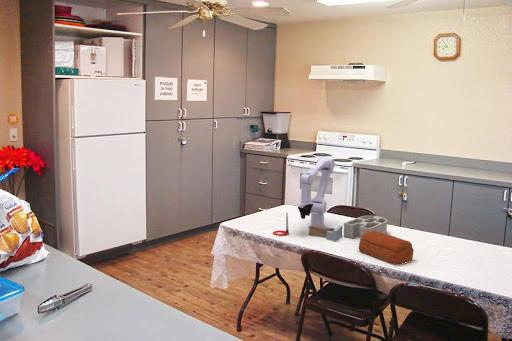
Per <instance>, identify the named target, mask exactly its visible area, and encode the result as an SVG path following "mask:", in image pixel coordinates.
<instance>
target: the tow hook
mask: <svg viewBox="0 0 512 341" xmlns="http://www.w3.org/2000/svg"><path fill="white" fill-rule="evenodd" d="M272 234H273V235H274V236H277V235H278V237H279V236H289V234H290V231H289V215H288V212H286V213H285V230H283V229H282V230H281V229H280V230H274V231H273V232H272Z"/></svg>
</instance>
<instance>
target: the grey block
mask: <svg viewBox="0 0 512 341" xmlns="http://www.w3.org/2000/svg"><path fill="white" fill-rule="evenodd" d="M333 228H334V230H333V232H332V231H327V237H326V240H329V241H332V242H337V241H338V240H340V238H341V237H342V236H343V228H344V225H338V226H337V227H333Z"/></svg>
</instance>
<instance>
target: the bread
mask: <svg viewBox="0 0 512 341" xmlns="http://www.w3.org/2000/svg"><path fill="white" fill-rule="evenodd" d="M358 250H359V252H361V254H365V255H369V256H371V257H374V258H376V257H377V259H379V258H380V259H379V260H382V261H384V260H385V262H387V261H388V262H387V263H389V262H391V263H390V264H392V263H395V264H394V265H396V264H402V263H405V262H409V261H412V262H413V257H414V248H413V245H412V243H411V241H408V240H405V239H403V238H400V237H397V236H394V235H390V234H387V233H386V234H384V233H381V232H378V231H371V232H368V233H365V234H363V235H362V238H361V240H360V239H359V244H358ZM409 263H410V262H409ZM405 264H406V263H405ZM402 265H403V264H402Z"/></svg>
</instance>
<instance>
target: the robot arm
mask: <svg viewBox="0 0 512 341" xmlns="http://www.w3.org/2000/svg"><path fill="white" fill-rule="evenodd" d="M335 164H336V162H335V159H334V158H328V157H321V156H319V157H318V158H317V159H316V164H314V166H313V167H310V168H309V169H308V170H307V171H306V172H305V173H303V174H301V175H300V177H299V182H300V187H301V189H300V190H301V192H300V194H301V195H300V196H301V197H300V203H299V205H298V206H297V209H298V211H299V214H300V219H303V220H305V219H306V216H307V217H310V226H311V225H314V226H321V227H326V225H325V214H326V211H327V201H326V200H325V195H326V192H327V187H328V185H329V184H328V183H329V180H330V177H331V174H332V173H334V169H335ZM319 172H320V173H321V177H320V179H319V184H318V187H317V190H316V193H315V197H313V198H312V185H313V183H314V180H315V178H316V177H317V176H318V175H319ZM310 226H308V229H309V227H310Z"/></svg>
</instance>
